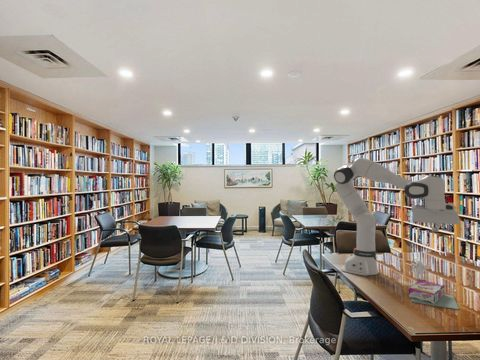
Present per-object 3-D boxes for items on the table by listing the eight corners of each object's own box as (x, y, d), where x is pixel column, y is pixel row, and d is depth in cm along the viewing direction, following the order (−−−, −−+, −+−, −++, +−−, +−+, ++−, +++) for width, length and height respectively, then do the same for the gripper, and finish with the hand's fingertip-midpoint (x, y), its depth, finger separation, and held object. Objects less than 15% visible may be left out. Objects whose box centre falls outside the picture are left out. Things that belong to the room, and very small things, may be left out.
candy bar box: (444, 284, 139) (435, 293, 128) (444, 294, 139) (435, 304, 128) (419, 279, 147) (408, 287, 136) (419, 288, 147) (408, 297, 136)
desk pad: (411, 301, 132) (411, 300, 132) (410, 290, 147) (410, 289, 147) (459, 310, 123) (459, 308, 123) (453, 296, 137) (453, 295, 137)
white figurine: (410, 278, 164) (410, 258, 165) (411, 277, 168) (410, 257, 168) (429, 281, 159) (428, 260, 160) (429, 279, 163) (428, 259, 163)
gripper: (411, 205, 150) (412, 230, 149) (459, 206, 139) (460, 234, 139) (411, 204, 155) (412, 229, 155) (457, 205, 144) (458, 232, 144)
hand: (435, 231), depth 147 cm, fingers closed
